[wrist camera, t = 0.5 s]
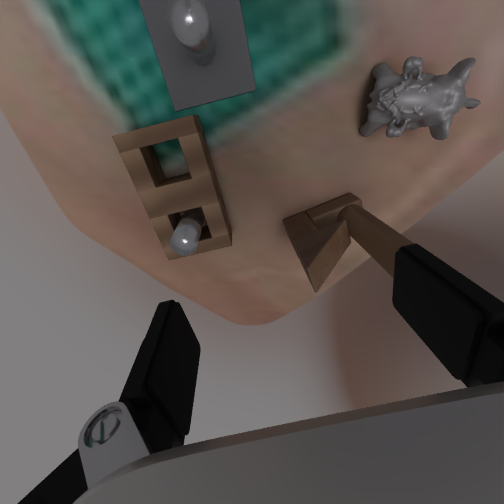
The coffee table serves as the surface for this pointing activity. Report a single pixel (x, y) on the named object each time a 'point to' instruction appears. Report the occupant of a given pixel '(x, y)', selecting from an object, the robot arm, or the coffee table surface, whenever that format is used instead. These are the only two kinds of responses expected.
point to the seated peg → (188, 232)
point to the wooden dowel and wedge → (340, 236)
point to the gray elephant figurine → (417, 98)
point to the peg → (192, 29)
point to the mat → (197, 76)
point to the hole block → (176, 182)
